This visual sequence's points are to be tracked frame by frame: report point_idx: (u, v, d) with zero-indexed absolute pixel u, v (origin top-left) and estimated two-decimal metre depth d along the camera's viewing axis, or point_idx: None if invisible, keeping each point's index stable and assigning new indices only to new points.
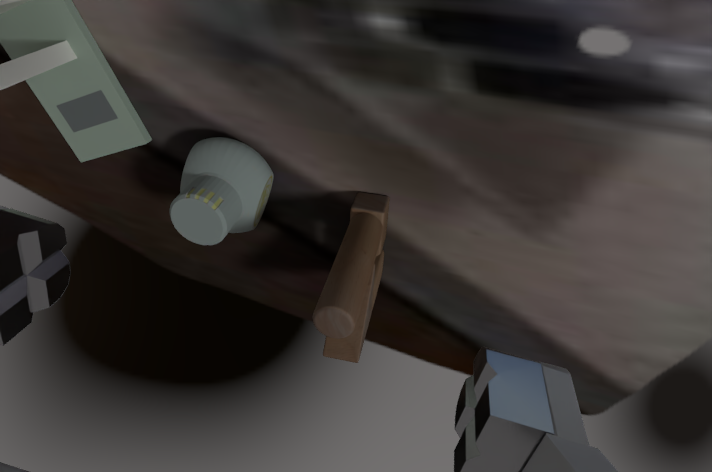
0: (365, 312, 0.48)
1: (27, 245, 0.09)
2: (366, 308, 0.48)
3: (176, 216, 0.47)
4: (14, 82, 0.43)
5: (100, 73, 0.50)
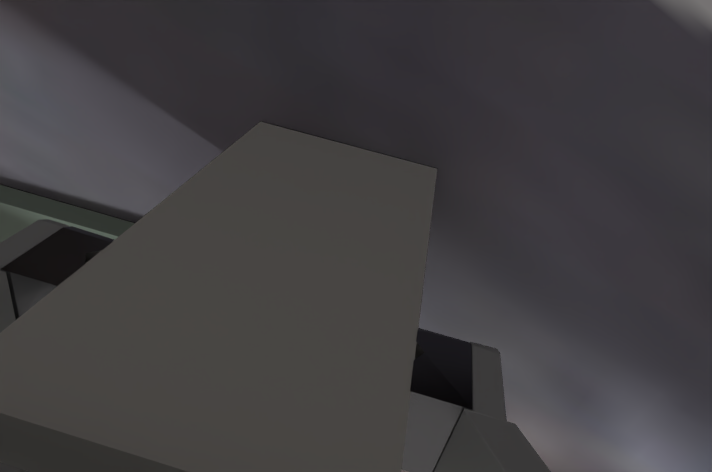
0: None
1: None
2: None
3: None
4: None
5: None
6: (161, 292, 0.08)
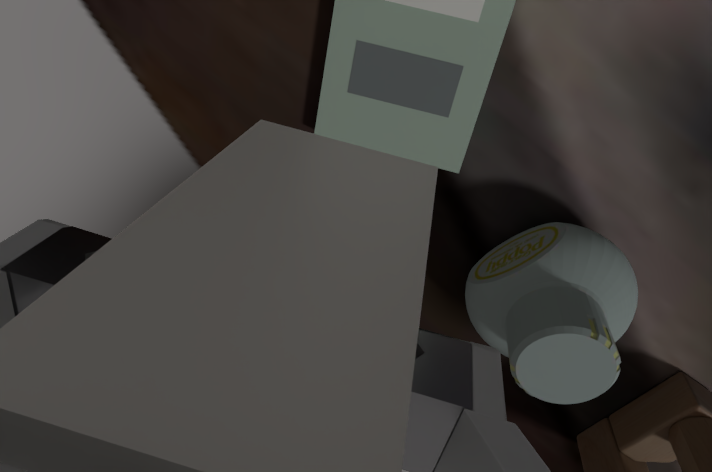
0: None
1: None
2: None
3: (540, 348, 0.27)
4: None
5: (489, 44, 0.28)
6: (160, 289, 0.08)
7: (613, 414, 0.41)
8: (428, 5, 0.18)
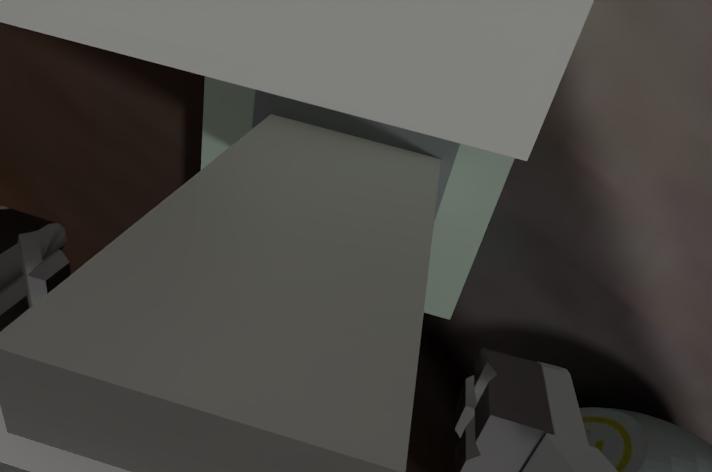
0: None
1: (26, 245, 0.09)
2: None
3: None
4: None
5: None
6: (186, 264, 0.09)
7: None
8: (297, 79, 0.04)
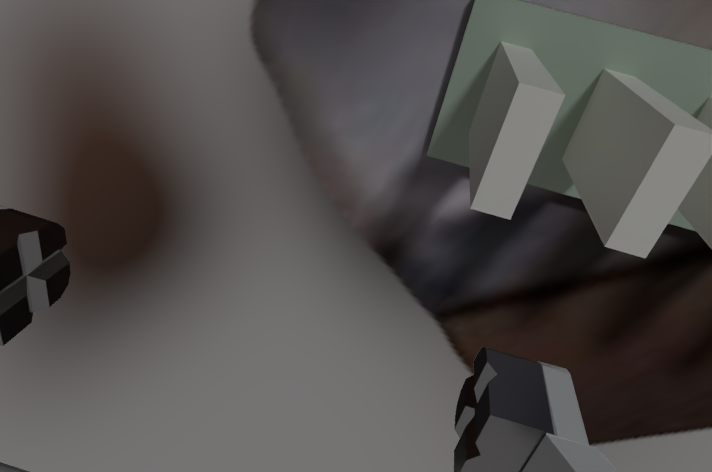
0: None
1: (26, 245, 0.09)
2: None
3: None
4: None
5: None
6: None
7: None
8: None
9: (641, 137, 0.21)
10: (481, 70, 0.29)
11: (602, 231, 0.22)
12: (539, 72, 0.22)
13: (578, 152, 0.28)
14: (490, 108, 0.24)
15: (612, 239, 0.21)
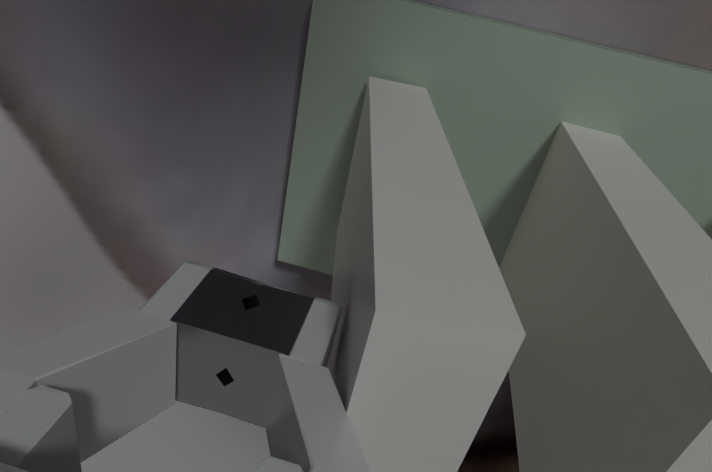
0: None
1: None
2: None
3: None
4: None
5: None
6: None
7: None
8: None
9: (623, 352, 0.08)
10: (343, 125, 0.16)
11: None
12: (441, 189, 0.09)
13: (517, 277, 0.15)
14: (348, 244, 0.11)
15: None
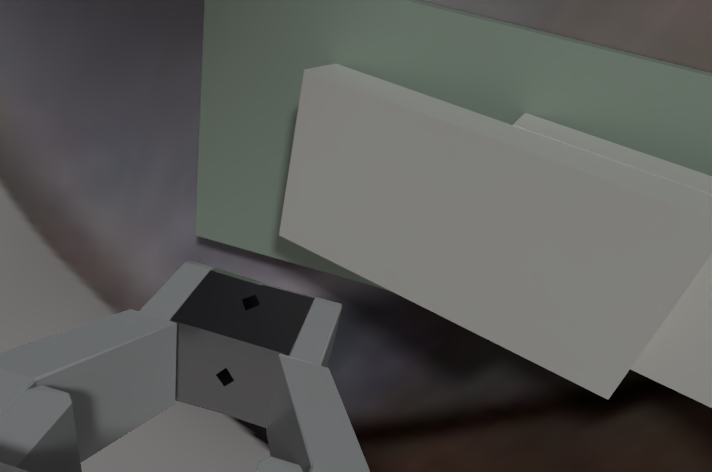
0: None
1: (243, 308, 0.08)
2: None
3: None
4: None
5: None
6: None
7: None
8: None
9: None
10: (246, 97, 0.16)
11: None
12: (567, 150, 0.13)
13: None
14: (467, 224, 0.13)
15: None
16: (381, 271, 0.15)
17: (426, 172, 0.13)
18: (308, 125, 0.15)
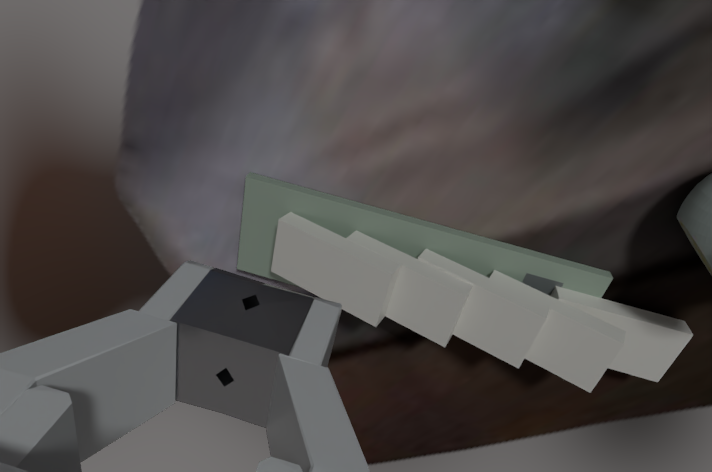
0: None
1: None
2: None
3: None
4: (590, 315, 0.40)
5: (514, 258, 0.41)
6: (635, 362, 0.42)
7: None
8: None
9: (437, 296, 0.40)
10: (258, 220, 0.45)
11: (436, 340, 0.41)
12: (359, 248, 0.41)
13: None
14: (330, 270, 0.41)
15: None
16: (306, 285, 0.43)
17: (317, 254, 0.41)
18: (280, 235, 0.43)
